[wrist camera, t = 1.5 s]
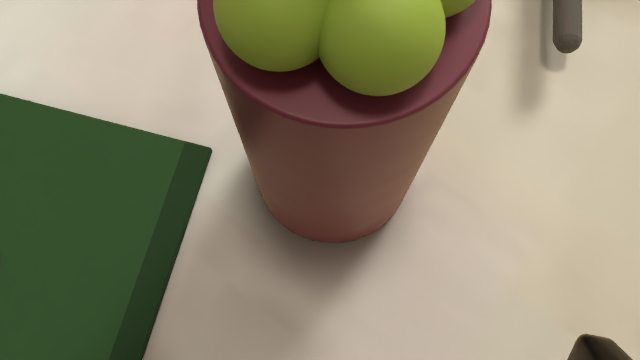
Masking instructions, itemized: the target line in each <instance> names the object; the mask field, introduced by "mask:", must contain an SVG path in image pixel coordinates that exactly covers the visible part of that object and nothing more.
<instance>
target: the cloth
mask: <svg viewBox="0 0 640 360" xmlns="http://www.w3.org/2000/svg"><path fill="white" fill-rule="evenodd" d="M211 153H212V150H211V148H209V147H205V146H201V145H198V144H194V143H190V142H185V141H182V140H178V139H174V138H170V137H166V136H162V135H158V134H154V133H151V132H147V131H143V130H139V129H135V128H131V127H127V126H123V125H120V124H116V123H112V122H108V121H104V120H100V119H96V118H92V117H89V116H85V115H81V114H77V113H73V112H69V111H65V110H61V109H58V108H54V107H50V106H46V105H42V104H38V103H34V102H30V101H27V100H23V99H19V98H15V97H11V96H7V95H3V94H0V254H1V267H0V360H142V358H143V355H144V352H145V349H146V346H147V343H148V340H149V337H150V334H151V331H152V328H153V325H154V322H155V319H156V316H157V313H158V310H159V307H160V304H161V301H162V298H163V295H164V292H165V289H166V286H167V283H168V280H169V277H170V274H171V271H172V268H173V265H174V262H175V260H176V257H177V254H178V251H179V248H180V245H181V242H182V239H183V236H184V233H185V230H186V227H187V224H188V221H189V218H190V215H191V212H192V209H193V206H194V203H195V200H196V197H197V194H198V191H199V188H200V185H201V182H202V179H203V176H204V173H205V170H206V167H207V164H208V162H209V159H210V156H211Z"/></svg>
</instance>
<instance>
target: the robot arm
mask: <svg viewBox="0 0 640 360" xmlns="http://www.w3.org/2000/svg"><path fill="white" fill-rule="evenodd" d="M0 267H1V254H0ZM567 360H632V359H631V358H630V357H629V356H628V355H627V354H626V353H625V352H624V351H623V350H622V349H621V348H620V347H619V346H618V345H617V344H616V343H615V342H614V341H612V340H611V339H609V338H605V337H600V336H595V335H589V334H583V335H580V336H579V337H578V339H577V340H576V342H575V344H574V346H573V349H572V351H571V353H570V355H569V357H568V359H567Z"/></svg>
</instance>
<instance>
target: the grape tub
mask: <svg viewBox="0 0 640 360" xmlns="http://www.w3.org/2000/svg"><path fill="white" fill-rule="evenodd" d="M197 9H198V15H199V22H200V27H201V30H202V33H203V36H204V39H205V42H206V45H207V48H208V50H209V53H210V56H211V59H212V61H213V64H214V67H215V70H216V72H217V75H218V78H219V80H220V83H221V86H222V89H223V91H224V94H225V97H226V100H227V102H228V105H229V108H230V110H231V113H232V116H233V119H234V121H235V124H236V127H237V130H238V132H239V135H240V138H241V140H242V143H243V146H244V149H245V151H246V154H247V157H248V160H249V162H250V165H251V168H252V170H253V173H254V176H255V179H256V181H257V184H258V187H259V190H260V192H261V195H262V197H263V199H264V201H265V203H266V205H267V207H268V208H269V210H270V211H271V213H272V214H273V215H274V216H275V217H276V218H277V220H278V221H280V222H281V223H282V224H283V225H284V226H285V227H287V228H288V229H290V230H291V231H293V232H294V233H296V234H298V235H300V236H302V237H305V238H308V239H311V240H315V241H320V242H329V243H337V242H347V241H352V240H355V239H358V238H361V237H364V236H366V235H368V234H370V233H372V232H374V231H375V230H377V229H378V228H380V227H381V226H382V225H383V224H385V223H386V222H387V221H388V220H389V219H390V218H391V217H392V215H393V214H394V213H395V212H396V210H397V209H398V207H399V206H400V204H401V202H402V200H403V198H404V196H405V194H406V192H407V191H408V189H409V187H410V185H411V183H412V181H413V179H414V177H415V175H416V173H417V171H418V170H419V168H420V166H421V164H422V162H423V160H424V158H425V156H426V154H427V152H428V150H429V149H430V147H431V145H432V143H433V141H434V139H435V137H436V135H437V133H438V131H439V129H440V127H441V126H442V124H443V122H444V120H445V118H446V116H447V114H448V112H449V110H450V108H451V106H452V105H453V103H454V101H455V99H456V97H457V95H458V93H459V91H460V89H461V87H462V85H463V84H464V82H465V80H466V78H467V76H468V74H469V72H470V70H471V68H472V66H473V64H474V63H475V61H476V59H477V57H478V55H479V52H480V50H481V48H482V46H483V44H484V41H485V38H486V35H487V31H488V28H489V23H490V16H491V9H492V5H491V0H197Z"/></svg>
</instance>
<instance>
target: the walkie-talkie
mask: <svg viewBox="0 0 640 360" xmlns="http://www.w3.org/2000/svg"><path fill="white" fill-rule="evenodd" d="M553 42H554V45H555V46H556V48H557V50H559V51H560V52H561V53H571V52H573V51H575V50H576V49H578V48H579V46H580V44H581V42H582V0H553Z"/></svg>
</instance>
